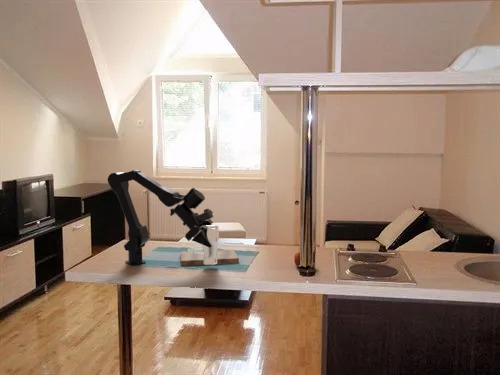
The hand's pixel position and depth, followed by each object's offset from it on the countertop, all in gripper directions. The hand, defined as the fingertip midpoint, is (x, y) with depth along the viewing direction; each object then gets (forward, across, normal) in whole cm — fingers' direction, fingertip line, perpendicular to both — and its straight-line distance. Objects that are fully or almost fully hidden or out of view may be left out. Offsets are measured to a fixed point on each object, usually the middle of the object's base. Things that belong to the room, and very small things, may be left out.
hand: (213, 244), depth 192 cm
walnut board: (+3, +13, +11) cm, 17 cm away
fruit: (+32, +11, -18) cm, 38 cm away
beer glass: (+5, 0, +6) cm, 8 cm away
